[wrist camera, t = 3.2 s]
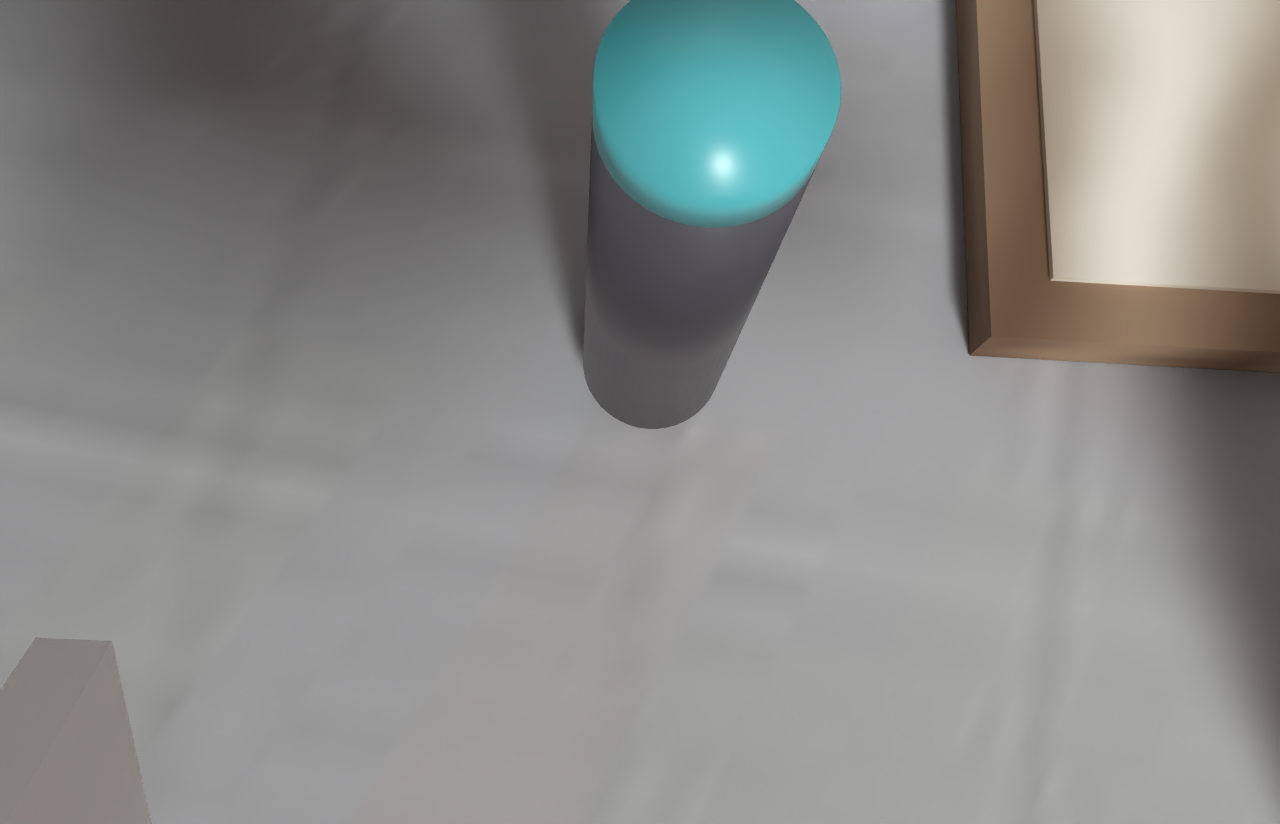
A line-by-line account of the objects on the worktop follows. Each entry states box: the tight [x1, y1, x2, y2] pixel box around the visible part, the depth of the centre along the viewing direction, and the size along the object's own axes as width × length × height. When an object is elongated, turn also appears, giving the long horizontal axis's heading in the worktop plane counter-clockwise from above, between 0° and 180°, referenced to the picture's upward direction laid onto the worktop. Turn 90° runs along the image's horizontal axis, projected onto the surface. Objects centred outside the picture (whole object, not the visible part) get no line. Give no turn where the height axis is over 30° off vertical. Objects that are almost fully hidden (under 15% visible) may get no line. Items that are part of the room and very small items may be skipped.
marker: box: [583, 0, 841, 429], centre depth 21 cm, size 3×3×13 cm
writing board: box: [956, 0, 1280, 372], centre depth 30 cm, size 16×16×2 cm
